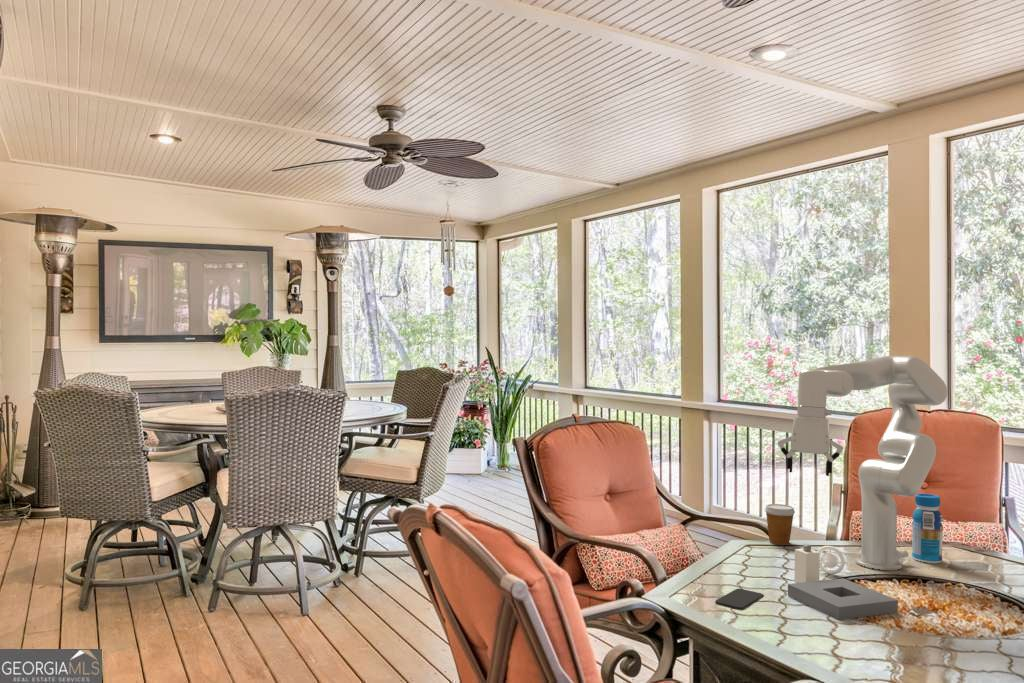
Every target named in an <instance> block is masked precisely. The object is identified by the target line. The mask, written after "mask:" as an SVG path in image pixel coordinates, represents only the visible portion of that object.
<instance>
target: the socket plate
mask: <svg viewBox="0 0 1024 683" xmlns="http://www.w3.org/2000/svg"><path fill="white" fill-rule="evenodd" d="M787 596H788V597H790V598H792V599H794V600H796V601H799V602H800V603H802V604H805V605H806V606H809V607H810V608H811V607H812V608H813V609H816V610H817V611H820V612H821V613H824V614H825V615H828V616H830V617H832V618H834V619H836V620H838V621H839V620H847V619H855V618H863V617H871V616H879V615H887V614H886V613H889V614H896V613H897V614H898V613H899V600H898V599H897V598H893V597H891V596H889V595H886V594H884V593H881V592H878V591H876V590H873V589H871V588H868V587H866V586H863V585H861V584H859V583H856V582H853V581H852V580H848V579H846V578H836V579H835V578H833V579H826V580H825V579H824V580H819V581H812V582H803V583H796V582H793V583H787Z"/></svg>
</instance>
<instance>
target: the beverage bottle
mask: <svg viewBox="0 0 1024 683" xmlns="http://www.w3.org/2000/svg"><path fill="white" fill-rule="evenodd" d="M914 498H915V499H914V500H915V501H914V502H915V506H917V507H916V508H915V509H914V511H913V512H912V519H913V520H912V522H911V527H912V531H911V532H912V534H911V535H912V538H911V539H912V543H911V544H912V545H911V547H912V549H911V552H912V553H911V556H912V559H913V560H914V561H917V560H918V561H917V562H920V561H921V563H924V562H927V564H940V563H942V561H943V532H944V525H943V523H942V522H943V520H944V518H943V515H942V513H941V511H940V510H939V508H941V497H940V495H936V494H932V493H931V494H930V493H916V494H915V495H914Z"/></svg>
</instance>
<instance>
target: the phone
mask: <svg viewBox="0 0 1024 683" xmlns="http://www.w3.org/2000/svg"><path fill="white" fill-rule="evenodd" d="M761 598H764V594H763V593H761V592H757V591H753V590H749V589H744V588H735V589H734V590H732V591H730V592H728V593H726V594H725V595H723V596H720V597H719V598H717V599H716V600H714V602H715V604H716V605H718V606H723V607H727V608H731V609H733V610H734V609H735V610H739V611H743V610H745V609H746V608H748V607H749V606H751V605H753V604H754V603H755V602H757V601H759V600H760V599H761Z"/></svg>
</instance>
